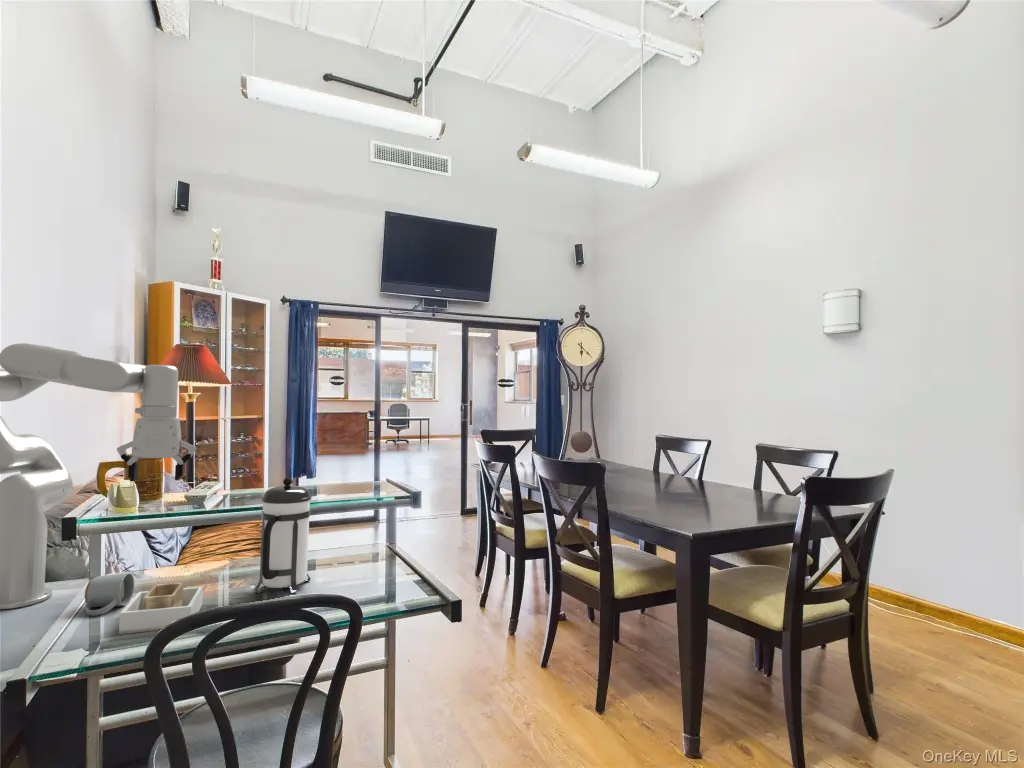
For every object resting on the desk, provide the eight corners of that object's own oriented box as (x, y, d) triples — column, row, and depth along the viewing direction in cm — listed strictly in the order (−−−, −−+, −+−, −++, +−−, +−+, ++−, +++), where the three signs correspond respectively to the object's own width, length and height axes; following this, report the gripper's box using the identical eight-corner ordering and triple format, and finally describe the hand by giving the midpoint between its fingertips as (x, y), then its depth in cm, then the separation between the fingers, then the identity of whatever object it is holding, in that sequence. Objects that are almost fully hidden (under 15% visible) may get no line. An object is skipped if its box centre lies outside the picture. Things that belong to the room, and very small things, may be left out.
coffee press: (242, 585, 149) (247, 476, 150) (300, 574, 160) (304, 472, 161) (261, 604, 136) (266, 485, 137) (323, 591, 146) (328, 480, 147)
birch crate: (142, 625, 121) (143, 598, 121) (153, 610, 129) (154, 584, 130) (173, 622, 123) (174, 595, 123) (182, 607, 131) (183, 582, 132)
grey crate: (118, 634, 117) (119, 613, 118) (138, 610, 130) (138, 591, 130) (190, 626, 122) (191, 606, 122) (202, 605, 135) (202, 586, 135)
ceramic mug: (97, 600, 136) (98, 570, 136) (134, 598, 138) (135, 568, 138) (74, 618, 125) (75, 585, 126) (114, 616, 127) (115, 583, 127)
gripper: (114, 412, 132) (110, 483, 132) (194, 414, 138) (191, 481, 138) (124, 412, 139) (120, 478, 139) (200, 413, 145) (197, 477, 145)
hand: (156, 480), depth 138 cm, fingers open, 9 cm apart
